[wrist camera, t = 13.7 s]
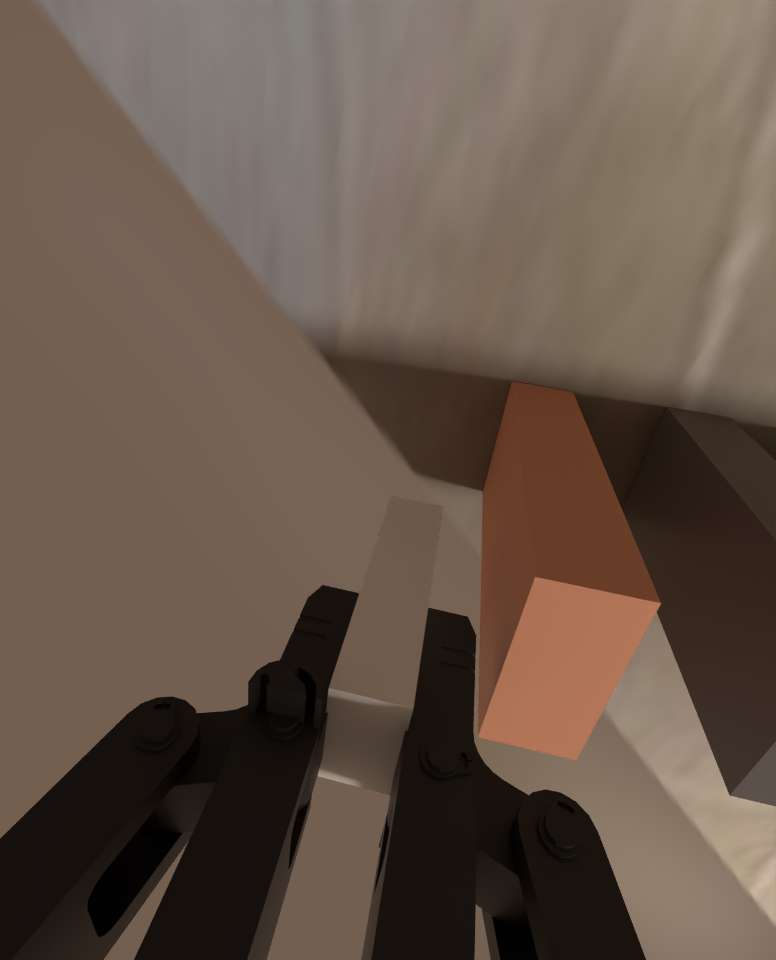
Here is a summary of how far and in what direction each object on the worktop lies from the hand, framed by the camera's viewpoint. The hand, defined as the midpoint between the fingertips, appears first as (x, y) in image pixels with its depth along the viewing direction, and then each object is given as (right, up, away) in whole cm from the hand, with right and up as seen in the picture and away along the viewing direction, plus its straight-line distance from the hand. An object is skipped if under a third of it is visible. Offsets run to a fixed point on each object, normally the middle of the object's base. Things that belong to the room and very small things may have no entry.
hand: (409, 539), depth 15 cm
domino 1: (+5, +3, +6) cm, 9 cm away
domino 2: (+11, +2, +6) cm, 13 cm away
